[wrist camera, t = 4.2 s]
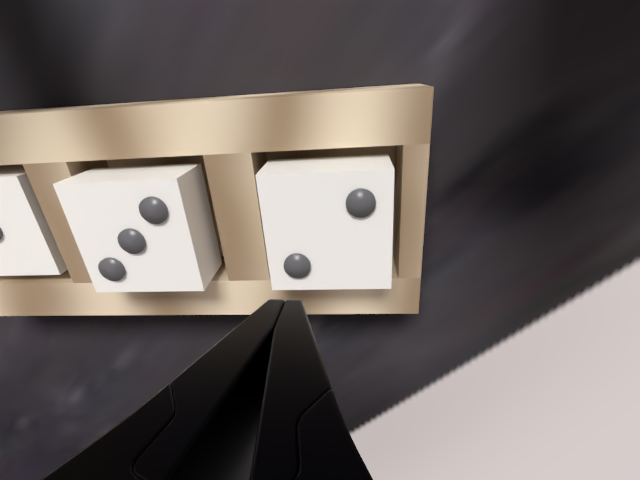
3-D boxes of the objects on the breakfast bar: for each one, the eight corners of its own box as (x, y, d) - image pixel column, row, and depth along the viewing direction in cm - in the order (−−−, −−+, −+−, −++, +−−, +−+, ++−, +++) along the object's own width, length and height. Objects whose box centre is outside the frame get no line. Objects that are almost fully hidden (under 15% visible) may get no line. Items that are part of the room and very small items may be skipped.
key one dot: (57, 162, 18) (13, 176, 15) (91, 252, 20) (58, 276, 17) (-34, 167, 18) (-89, 181, 16) (10, 254, 20) (-34, 278, 18)
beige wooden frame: (418, 83, 15) (433, 86, 13) (408, 280, 20) (418, 313, 17) (-74, 116, 18) (-150, 124, 15) (14, 285, 22) (-33, 316, 19)
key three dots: (200, 163, 15) (175, 179, 13) (222, 263, 17) (203, 293, 15) (93, 168, 16) (49, 185, 14) (126, 265, 18) (94, 294, 16)
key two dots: (387, 154, 15) (395, 170, 12) (385, 260, 17) (391, 290, 14) (268, 159, 15) (254, 175, 13) (281, 262, 17) (271, 292, 15)
